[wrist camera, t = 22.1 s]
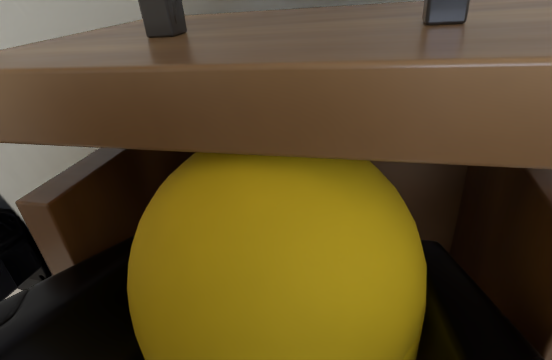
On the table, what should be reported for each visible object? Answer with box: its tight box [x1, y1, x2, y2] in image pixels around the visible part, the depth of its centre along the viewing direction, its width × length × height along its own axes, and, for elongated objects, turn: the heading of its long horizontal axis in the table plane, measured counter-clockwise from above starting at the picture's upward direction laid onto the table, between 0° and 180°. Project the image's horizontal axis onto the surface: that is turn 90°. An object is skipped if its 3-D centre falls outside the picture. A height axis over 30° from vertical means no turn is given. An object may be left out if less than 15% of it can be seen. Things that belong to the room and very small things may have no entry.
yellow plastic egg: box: [127, 152, 427, 360], centre depth 7 cm, size 6×5×5 cm
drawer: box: [0, 0, 552, 360], centre depth 9 cm, size 18×11×7 cm, turn 4°
